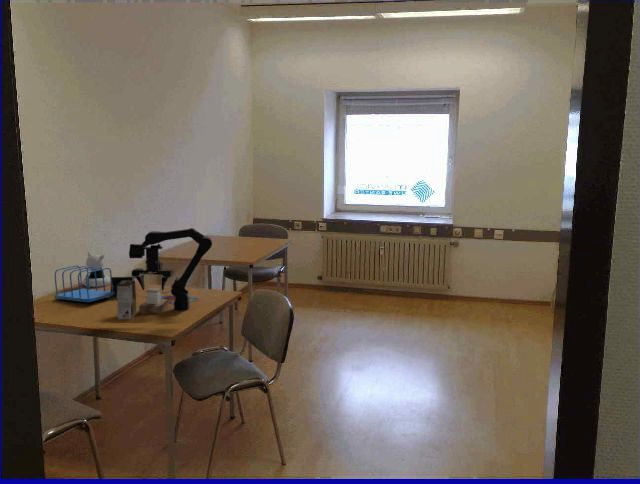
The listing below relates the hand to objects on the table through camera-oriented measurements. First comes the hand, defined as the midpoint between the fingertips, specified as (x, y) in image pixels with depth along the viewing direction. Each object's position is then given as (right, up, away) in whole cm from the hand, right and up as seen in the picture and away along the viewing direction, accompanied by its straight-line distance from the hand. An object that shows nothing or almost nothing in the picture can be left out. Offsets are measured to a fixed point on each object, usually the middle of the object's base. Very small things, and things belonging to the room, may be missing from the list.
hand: (153, 290), depth 269 cm
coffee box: (-9, -11, -11) cm, 18 cm away
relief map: (+3, -7, +24) cm, 25 cm away
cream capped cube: (0, -6, +1) cm, 6 cm away
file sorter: (-42, -6, +23) cm, 48 cm away
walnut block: (0, -10, +1) cm, 10 cm away
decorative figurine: (-47, -2, +52) cm, 70 cm away
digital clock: (-25, -4, +37) cm, 45 cm away
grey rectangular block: (-24, -5, +26) cm, 36 cm away
